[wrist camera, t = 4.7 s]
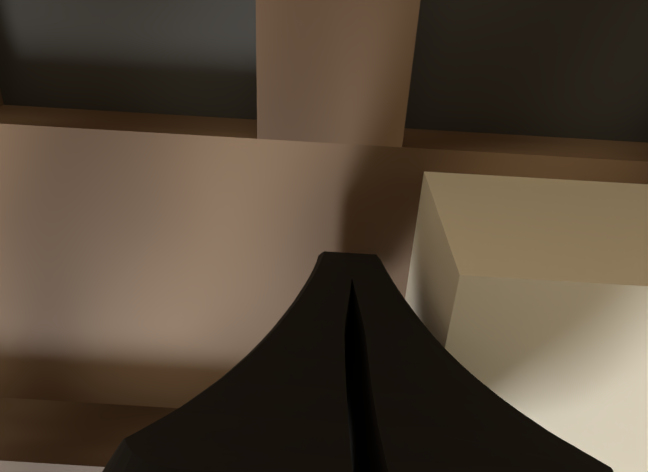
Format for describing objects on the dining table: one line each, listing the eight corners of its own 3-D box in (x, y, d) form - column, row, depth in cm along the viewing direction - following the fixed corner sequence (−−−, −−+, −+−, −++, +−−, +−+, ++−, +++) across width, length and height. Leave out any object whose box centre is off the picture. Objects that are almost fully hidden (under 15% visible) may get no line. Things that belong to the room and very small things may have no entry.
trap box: (1038, -40, 10) (1327, -31, 7) (746, 428, 17) (837, 538, 14) (-193, -110, 11) (-412, -129, 7) (-19, 381, 17) (-100, 479, 14)
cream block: (660, 184, 11) (802, 295, 8) (592, 364, 14) (677, 510, 10) (423, 171, 11) (460, 275, 8) (397, 352, 14) (414, 493, 10)
